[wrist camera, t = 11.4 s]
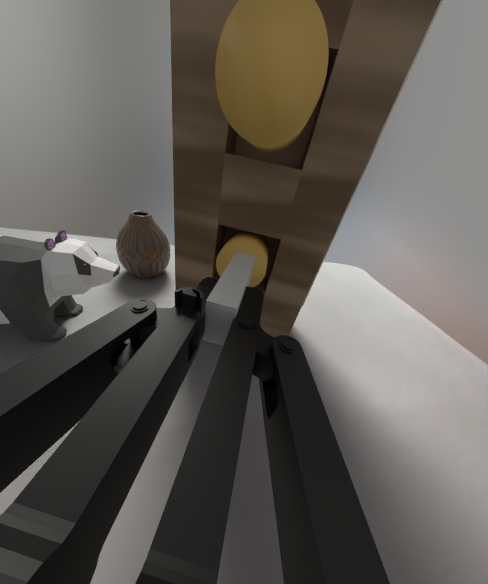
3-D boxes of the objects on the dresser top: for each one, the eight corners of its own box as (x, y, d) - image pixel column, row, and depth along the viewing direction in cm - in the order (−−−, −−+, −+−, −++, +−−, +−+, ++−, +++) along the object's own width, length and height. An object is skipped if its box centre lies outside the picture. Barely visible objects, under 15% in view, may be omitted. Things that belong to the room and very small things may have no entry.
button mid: (303, 153, 8) (351, -9, 6) (210, 133, 8) (221, -33, 6) (297, 158, 11) (326, 56, 9) (231, 143, 11) (244, 40, 9)
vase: (178, 277, 30) (178, 220, 25) (130, 288, 26) (118, 223, 21) (160, 258, 34) (156, 206, 29) (115, 265, 30) (102, 205, 25)
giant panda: (-87, 348, 15) (-231, 228, 10) (-24, 304, 20) (-101, 204, 14) (122, 342, 19) (99, 253, 14) (135, 306, 23) (122, 228, 18)
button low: (259, 294, 16) (272, 249, 14) (213, 282, 16) (218, 236, 14) (263, 272, 19) (274, 233, 17) (225, 263, 20) (231, 223, 17)
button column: (285, 356, 21) (1119, -1357, 2) (176, 327, 22) (146, -1264, 3) (285, 312, 28) (503, -233, 9) (201, 290, 28) (241, -267, 10)
